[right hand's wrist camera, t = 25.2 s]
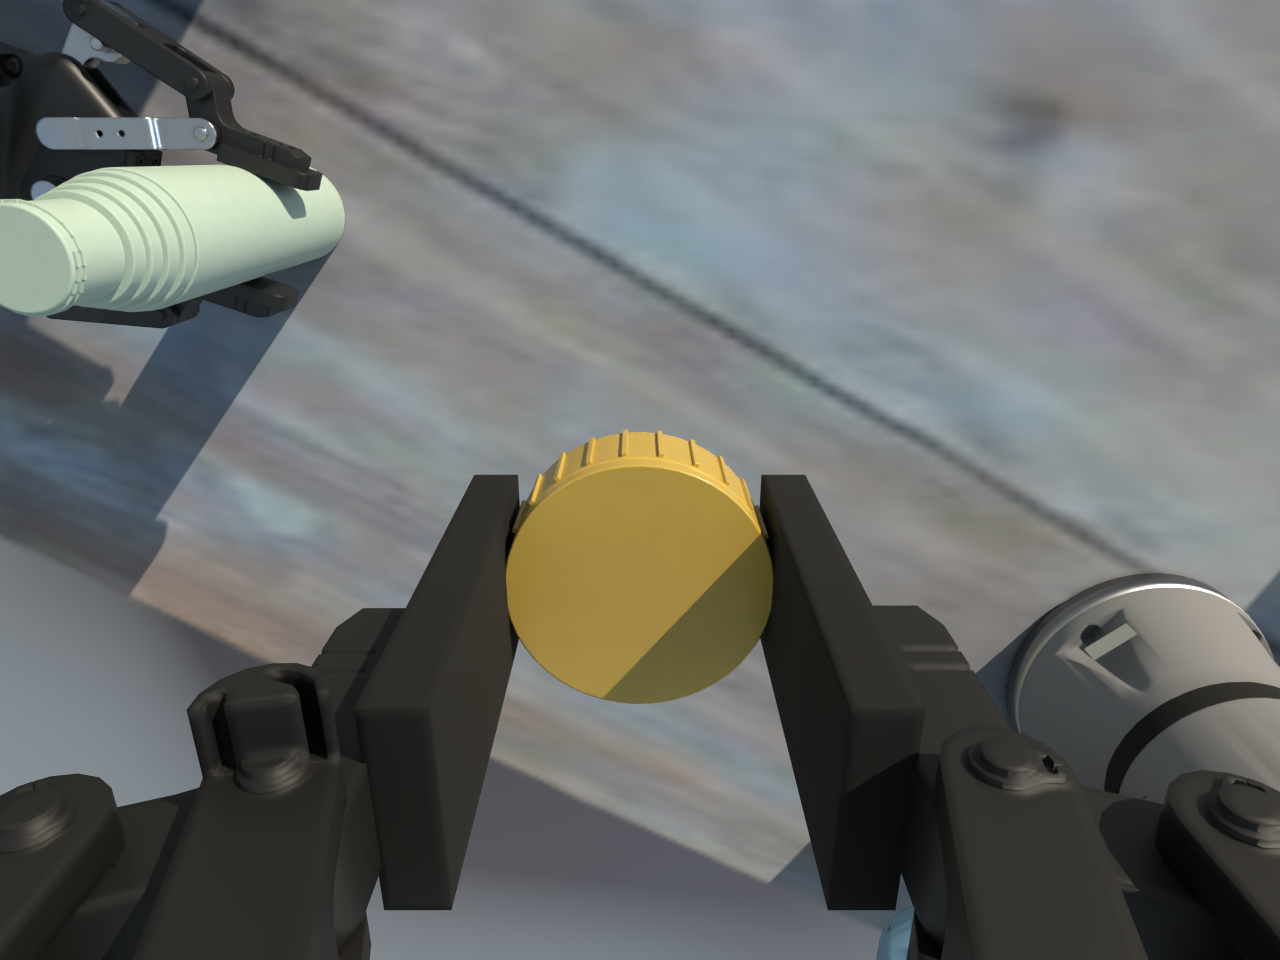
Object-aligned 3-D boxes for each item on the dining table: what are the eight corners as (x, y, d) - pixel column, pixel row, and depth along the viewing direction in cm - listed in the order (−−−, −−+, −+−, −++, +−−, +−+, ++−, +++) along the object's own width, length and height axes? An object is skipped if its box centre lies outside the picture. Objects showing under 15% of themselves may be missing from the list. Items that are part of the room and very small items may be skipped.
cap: (677, 688, 16) (681, 746, 14) (472, 582, 15) (452, 631, 13) (812, 508, 14) (833, 550, 13) (594, 380, 14) (588, 409, 12)
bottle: (260, 260, 44) (-42, 344, 24) (243, 163, 42) (-96, 170, 23) (351, 259, 44) (121, 343, 24) (338, 162, 42) (79, 169, 23)
